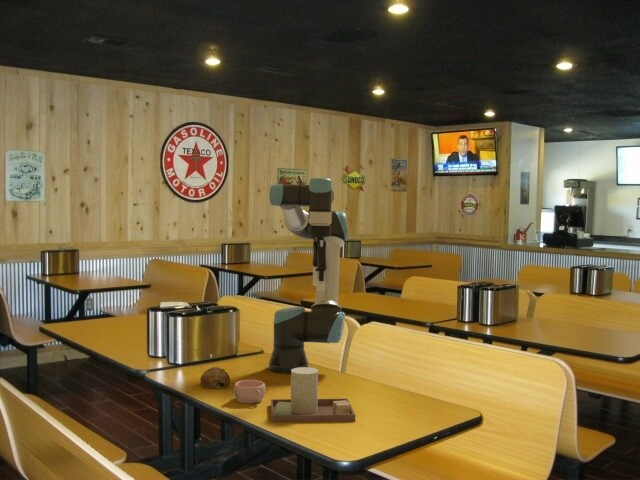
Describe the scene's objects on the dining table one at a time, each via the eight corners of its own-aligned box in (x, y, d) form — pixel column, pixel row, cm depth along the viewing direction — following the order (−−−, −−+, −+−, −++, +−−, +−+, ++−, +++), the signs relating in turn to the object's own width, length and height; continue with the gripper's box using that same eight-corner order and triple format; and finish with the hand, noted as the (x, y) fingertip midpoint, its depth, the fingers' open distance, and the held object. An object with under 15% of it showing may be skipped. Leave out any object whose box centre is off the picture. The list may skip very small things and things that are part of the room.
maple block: (332, 414, 198) (333, 401, 198) (345, 413, 199) (345, 400, 199) (336, 418, 194) (337, 405, 194) (349, 417, 195) (350, 404, 195)
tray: (270, 407, 206) (270, 399, 206) (347, 406, 208) (347, 398, 208) (272, 424, 190) (272, 416, 190) (355, 423, 192) (355, 414, 192)
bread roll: (206, 400, 224) (212, 381, 221) (192, 381, 231) (198, 362, 228) (231, 395, 231) (237, 376, 228) (216, 376, 237) (222, 358, 234)
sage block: (278, 414, 197) (278, 401, 196) (291, 415, 196) (292, 402, 196) (275, 419, 193) (275, 405, 192) (288, 420, 192) (289, 406, 192)
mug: (228, 400, 212) (228, 381, 212) (255, 395, 218) (255, 377, 218) (246, 410, 202) (246, 391, 202) (274, 405, 208) (274, 386, 208)
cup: (287, 412, 199) (288, 372, 198) (294, 404, 207) (294, 366, 206) (314, 414, 197) (314, 374, 197) (319, 406, 205) (320, 368, 204)
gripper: (305, 223, 233) (304, 283, 234) (311, 226, 208) (310, 293, 210) (326, 223, 234) (325, 283, 235) (335, 226, 209) (334, 293, 210)
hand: (318, 288), depth 222 cm, fingers open, 13 cm apart
